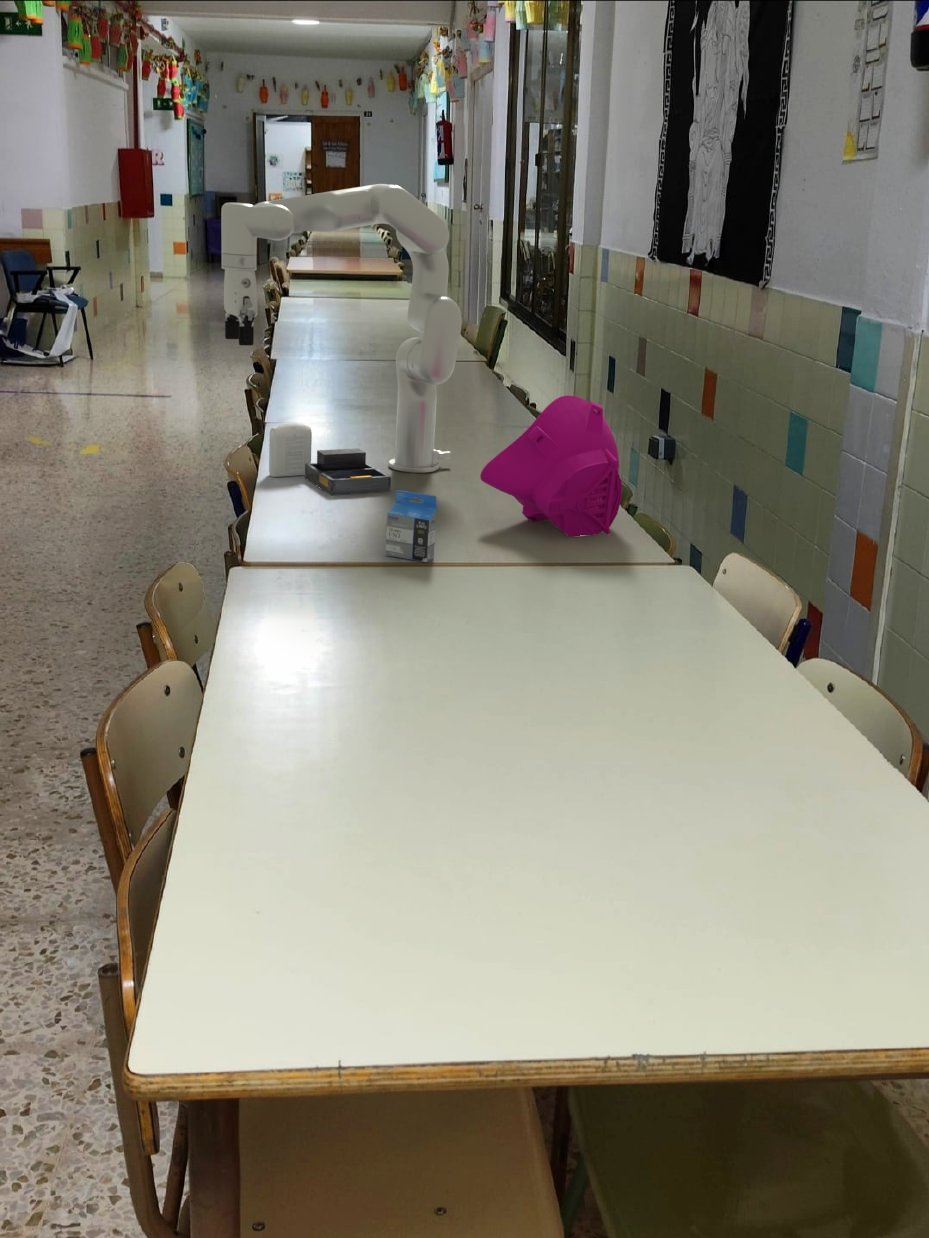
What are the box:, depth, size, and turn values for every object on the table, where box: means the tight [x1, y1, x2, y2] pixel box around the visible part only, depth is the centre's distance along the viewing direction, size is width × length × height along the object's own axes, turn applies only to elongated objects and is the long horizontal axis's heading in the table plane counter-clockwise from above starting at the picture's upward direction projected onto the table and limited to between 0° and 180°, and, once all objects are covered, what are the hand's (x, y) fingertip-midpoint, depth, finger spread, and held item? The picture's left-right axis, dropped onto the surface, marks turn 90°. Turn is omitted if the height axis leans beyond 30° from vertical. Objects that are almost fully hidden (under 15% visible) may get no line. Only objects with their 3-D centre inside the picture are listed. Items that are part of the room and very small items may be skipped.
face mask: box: [479, 394, 623, 538], centre depth 252 cm, size 28×23×30 cm
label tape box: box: [384, 489, 438, 563], centre depth 228 cm, size 9×4×12 cm, turn 69°
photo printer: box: [268, 422, 313, 478], centre depth 284 cm, size 10×4×12 cm, turn 123°
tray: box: [304, 447, 392, 496], centre depth 279 cm, size 15×16×7 cm
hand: (239, 342), depth 269 cm, fingers open, 9 cm apart
